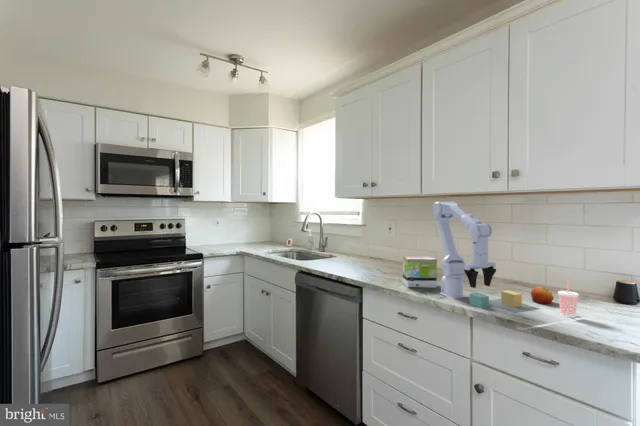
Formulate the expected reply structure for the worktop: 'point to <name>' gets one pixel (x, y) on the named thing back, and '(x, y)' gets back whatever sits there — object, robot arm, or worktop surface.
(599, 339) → the worktop surface
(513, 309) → the baseplate
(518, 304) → the mustard brick
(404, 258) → the tea box
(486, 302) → the teal brick
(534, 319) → the worktop surface
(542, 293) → the fruit
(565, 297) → the beverage cup
